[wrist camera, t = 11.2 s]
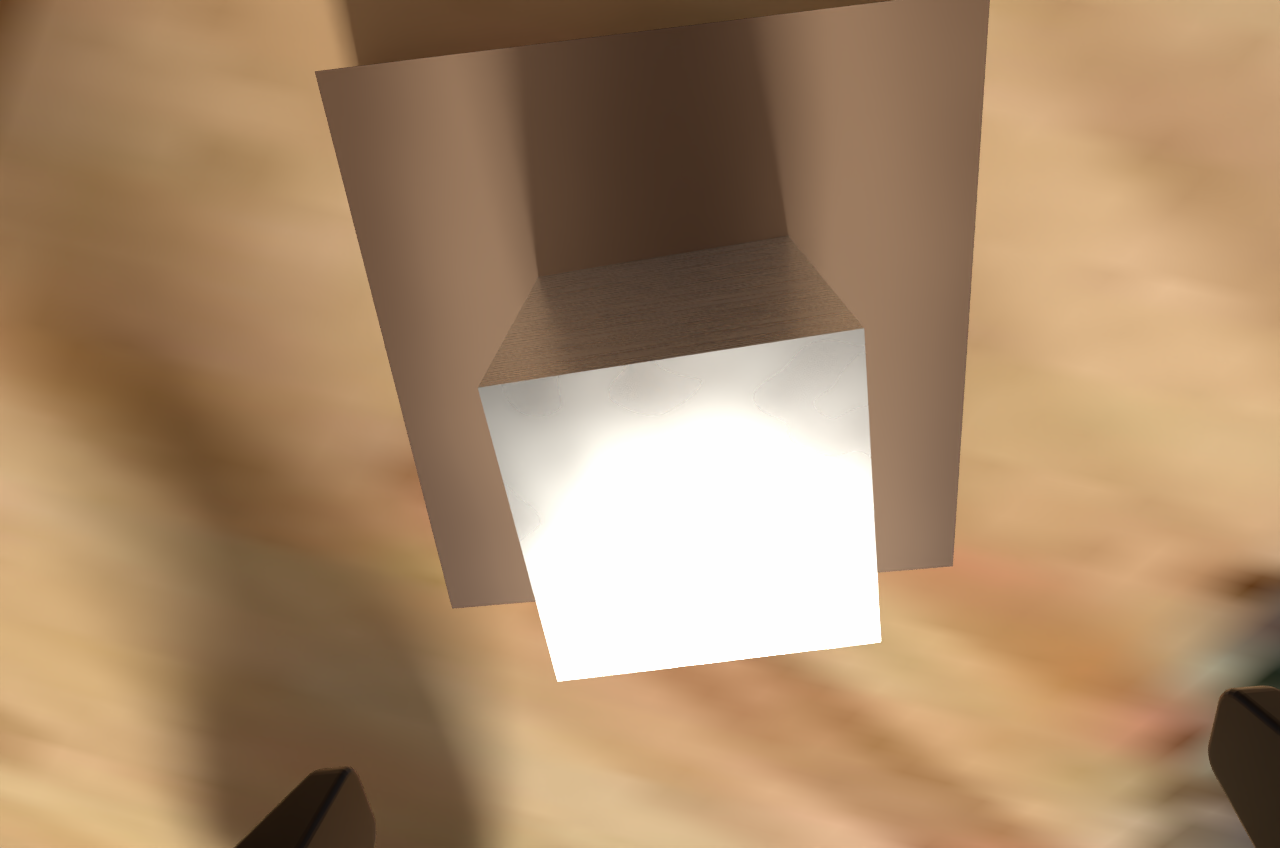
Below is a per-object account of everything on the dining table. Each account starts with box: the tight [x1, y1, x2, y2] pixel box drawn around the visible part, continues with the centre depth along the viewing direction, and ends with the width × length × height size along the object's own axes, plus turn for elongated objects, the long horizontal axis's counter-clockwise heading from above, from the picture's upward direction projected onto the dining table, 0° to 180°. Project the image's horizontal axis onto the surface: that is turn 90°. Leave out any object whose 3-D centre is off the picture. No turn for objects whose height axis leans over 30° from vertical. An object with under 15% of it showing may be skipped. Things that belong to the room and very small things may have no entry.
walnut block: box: [315, 0, 990, 608], centre depth 18 cm, size 12×12×3 cm
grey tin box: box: [478, 236, 881, 681], centre depth 14 cm, size 5×5×6 cm
